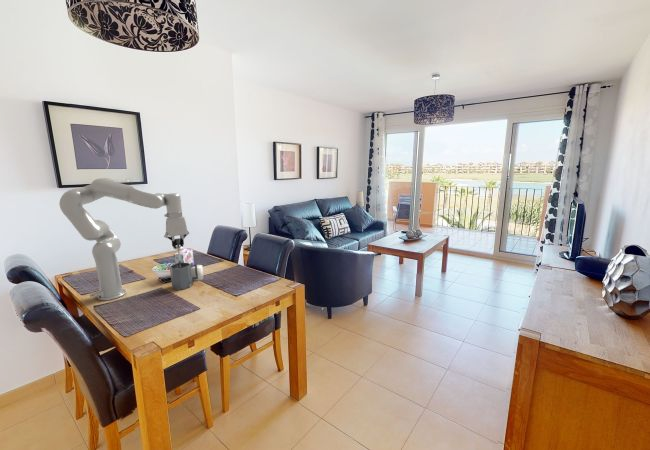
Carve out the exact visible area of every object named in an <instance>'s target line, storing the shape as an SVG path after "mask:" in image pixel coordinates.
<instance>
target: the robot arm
mask: <svg viewBox="0 0 650 450" xmlns="http://www.w3.org/2000/svg"><path fill="white" fill-rule="evenodd" d="M104 197H106V198H111V199H116V200H120V201H125V202H127V203H130V204H134V205H137V206H141V207H145V208H150V209H155V210H157V209H160V208H161V207H166V214H164V217H165V233H164V236H163V238H165V239H169V240H170V241H171V246H172V248H173V247H174V248H176V246H177V245H176V241H175V240H174V239H175V237H176V236H177V237H178V236H179V238H180V239H181V245H179V246H182V247H183V248H184V245H185V242H184V240H185V238H186V237H187V236H189V235H190V232H189V231H188V228H187V222H186V219H185V217H184V216H183V209H182V200H181V199H182V198H181V194H180V193H178V192H177V193H175V192H174V193H160V192H159V193H158V192H156V193H154V194H153V193H150V192H146V191H142V190H139V189H137V188H135V187H134V186H132V185H129V184H125V183H121V182H118V181H117V182H116V181H114V180H112V179H110V178H107V177H102V178H101V177H100V178H96V179H94V180H93V181H92V182H91V183H90V184H88V185H86V186H82V187H77V188H72V189H68V190H67V191H65V192H64V193H63V194H62V195H61V196H60V200H59V203H58V204H59V207H60V210H61V212H62V213H63V215H64V216H65V217H66V218H67V220H68V221H69V222H70V223H71V224H72V226H73V227H74V228H75V230H77V232H78V234H79V235H80V236H81V237H82V238H83V239H84V240H87V241H89V242H90V241H96V243H95V244H94V245H93V247H92V249H91V253H92V257H93V259H94V263H95V266H96V267H95V268H96V273H97V277H98V278H97V279H98V283H99V288H98V290H96V291H95V292H90V293H89V297H90V298H92V297H93V298H97V299H98V300H99V301H110V300H111V301H112V300H115V299H116V300H117V299H119V298H122V297H124V296H125V295H126V293H127V290H126V289H124V288H123V285H122V284H123V283H122V280H121V273H120V266H119V261H118V258H117V254H116V253H117V252H118V251H119V250H120V248H121V244H122V243H121V240H120V239H119V237H118V236H117V235H116V234H115V232H114V231H113V230H112V228H111V227H110V225H108V223H106V222H105V221H103V220H100V219H94V217H93V216H92V215H91V214H90V213H89V211H87V210H86V209H85V208H84V207H83V205H87V204H90V203H93V202H95V201H97V200H99V199H102V198H104Z"/></svg>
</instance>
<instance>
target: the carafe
mask: <svg viewBox="0 0 650 450" xmlns="http://www.w3.org/2000/svg"><path fill="white" fill-rule="evenodd" d="M197 265H198V264H195V263H194V265H191V264H189V263H181V268H180V267H179V263H178V264H175V263H173V264H172V265H170V266H169V272H170V280H171V281H170V282H171V288H172V289H173V290H174V291H175V290H176V291H183V290H186V289H190V288H191V287H192V286H193V281H192V280H195V279H198V273H197ZM194 266H195V274H196V277H195V278H192V273H191V267H194Z"/></svg>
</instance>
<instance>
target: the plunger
mask: <svg viewBox="0 0 650 450" xmlns="http://www.w3.org/2000/svg"><path fill="white" fill-rule="evenodd" d="M174 240H175V241H176V248H174V247H173V246H172V248H173V250H177V252H178V258H179V267H180V268H181V258H180V251H181V250H183V249H184V246H183V247H182V246H180V245H181V239H180V237H179V238H178V237H177V238H174Z"/></svg>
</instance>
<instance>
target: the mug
mask: <svg viewBox="0 0 650 450" xmlns="http://www.w3.org/2000/svg"><path fill="white" fill-rule="evenodd" d="M196 265H197V273H198V279H195V280H192V282H193V281H194V282H196V281H197V282H198V281H201V280H203V279H204V269H203V265H202V264H196ZM191 273H192V278H195V277H196V274H195V266H194V267H191Z"/></svg>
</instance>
